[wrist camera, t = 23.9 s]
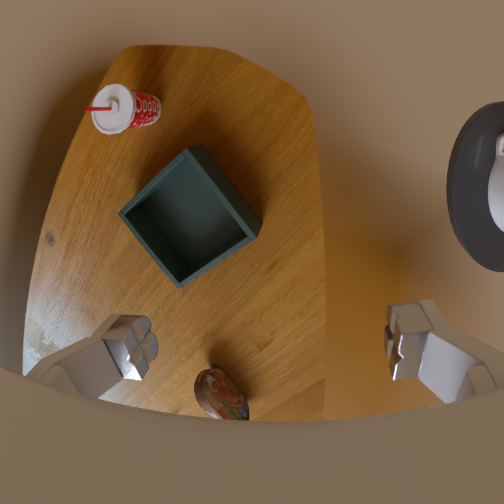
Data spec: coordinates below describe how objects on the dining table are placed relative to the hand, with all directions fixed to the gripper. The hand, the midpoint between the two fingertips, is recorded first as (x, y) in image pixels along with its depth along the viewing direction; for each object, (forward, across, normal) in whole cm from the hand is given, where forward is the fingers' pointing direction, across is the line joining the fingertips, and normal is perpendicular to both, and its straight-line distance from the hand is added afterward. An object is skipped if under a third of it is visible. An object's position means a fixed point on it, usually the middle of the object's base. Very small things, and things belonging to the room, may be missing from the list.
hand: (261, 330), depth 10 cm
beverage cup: (+31, +18, -13) cm, 38 cm away
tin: (+31, +16, +37) cm, 51 cm away
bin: (+31, +14, +3) cm, 34 cm away
